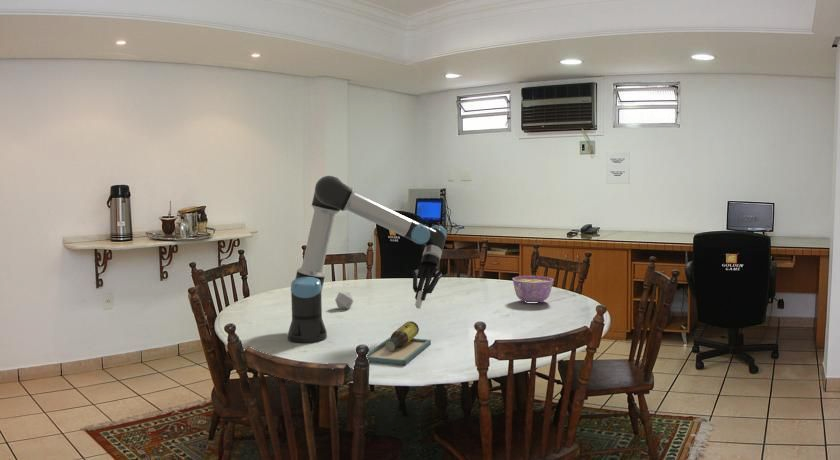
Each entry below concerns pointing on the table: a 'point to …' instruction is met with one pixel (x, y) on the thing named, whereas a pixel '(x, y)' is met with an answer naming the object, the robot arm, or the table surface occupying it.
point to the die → (344, 300)
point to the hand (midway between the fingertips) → (417, 306)
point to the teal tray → (398, 352)
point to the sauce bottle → (402, 336)
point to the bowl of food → (532, 288)
